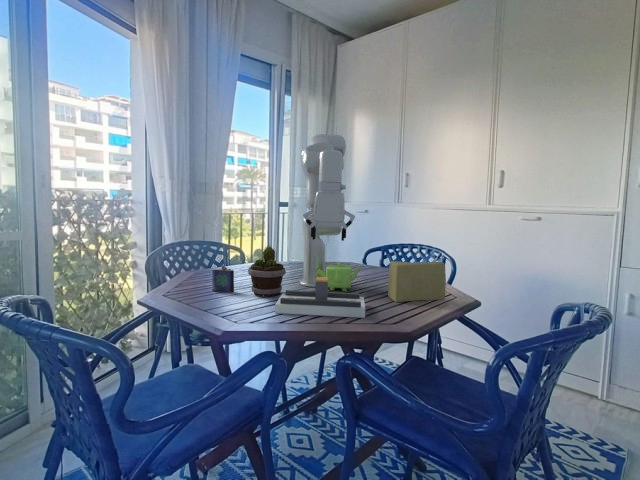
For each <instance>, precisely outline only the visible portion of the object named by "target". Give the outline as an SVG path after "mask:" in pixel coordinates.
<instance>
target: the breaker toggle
mask: <svg viewBox="0 0 640 480" xmlns="http://www.w3.org/2000/svg"><path fill="white" fill-rule="evenodd" d="M315 291H316V292H315V299H318V300H327V298H328V292H329V287H328V277H317V278H316V287H315Z"/></svg>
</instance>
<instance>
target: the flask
mask: <svg viewBox="0 0 640 480" xmlns="http://www.w3.org/2000/svg"><path fill="white" fill-rule="evenodd" d="M225 266H226V264H222V265H221V266H220V267H221V268H212V269H211V285H212V286H211V290H212V292H218V291H220V292H219V293H222V292H223V293H234V292H235V277H234V276H235V271H234V269H232V268H228V267H225Z"/></svg>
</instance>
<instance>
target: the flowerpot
mask: <svg viewBox="0 0 640 480" xmlns="http://www.w3.org/2000/svg"><path fill="white" fill-rule="evenodd" d="M272 245H273V244H270V245H265V247H264V249H263V251H262V255H261V258H260V257H258V258H256V259H255V262H254V263H252V264H251V265H250V267H249V268H247V274H248V275H249V276H250V280H251V284H252V285H251V286H250V287H251V291H252V292H253V294H254V295H255V296H258V297H270V296H271V297H275V296H278V295H280V293H281V292H282V290H283V287H282V282H283V277H284V276H285V275H286V274H287V271H286V268H285V267H284V265H283V263H280V262H279V263H277V260H276V256H277V253H276V252H277V250H275V248H273V246H272Z"/></svg>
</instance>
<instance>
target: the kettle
mask: <svg viewBox="0 0 640 480" xmlns="http://www.w3.org/2000/svg"><path fill="white" fill-rule="evenodd" d="M352 268H353V267H352V265H346V264H343V263H342V262H336V264H326V268H325V269H326V270H325V271H324V272H323V271H321V270H320V269H319V270H318V271H317V272H316V273H318V274H319V275H320V276H322V277H328V291H330V292H334V291H335V289H341V292H347V291H348V289H352V281H355V279H356V278H357V275H358V273H359V271H360V270H361V269H363V268H364V267H363V266H358V267H356V268H355V270H354V273H352V270H353V269H352Z"/></svg>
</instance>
